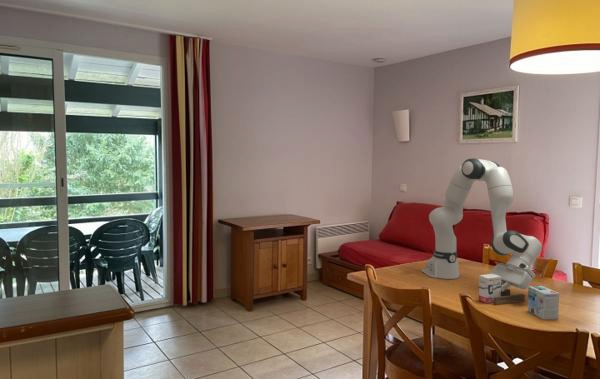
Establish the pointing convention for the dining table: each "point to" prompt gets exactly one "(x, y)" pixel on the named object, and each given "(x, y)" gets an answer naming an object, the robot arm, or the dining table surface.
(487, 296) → the ink box
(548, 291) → the light bulb box
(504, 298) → the walnut chute
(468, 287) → the dining table surface
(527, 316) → the dining table surface
